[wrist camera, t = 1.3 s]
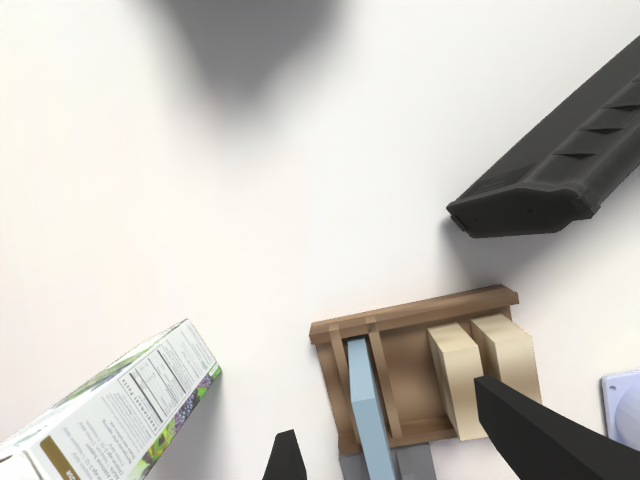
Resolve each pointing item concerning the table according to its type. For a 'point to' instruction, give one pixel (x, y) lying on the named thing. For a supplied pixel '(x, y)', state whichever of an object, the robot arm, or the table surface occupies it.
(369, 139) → the table surface
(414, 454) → the holder
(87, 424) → the syrup box
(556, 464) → the robot arm
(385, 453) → the tall board
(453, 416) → the offcut
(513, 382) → the offcut
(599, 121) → the magazine
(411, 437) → the rack
